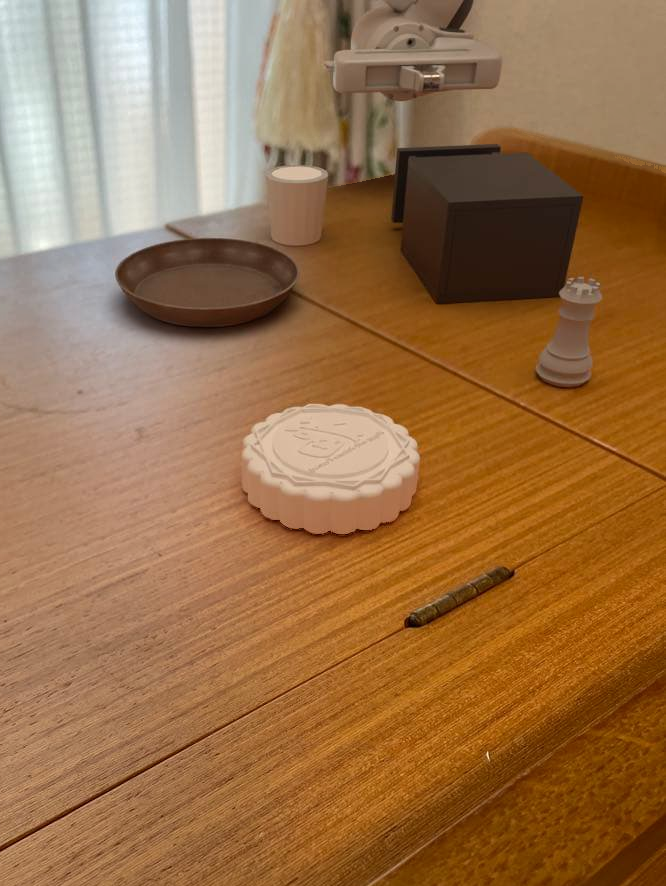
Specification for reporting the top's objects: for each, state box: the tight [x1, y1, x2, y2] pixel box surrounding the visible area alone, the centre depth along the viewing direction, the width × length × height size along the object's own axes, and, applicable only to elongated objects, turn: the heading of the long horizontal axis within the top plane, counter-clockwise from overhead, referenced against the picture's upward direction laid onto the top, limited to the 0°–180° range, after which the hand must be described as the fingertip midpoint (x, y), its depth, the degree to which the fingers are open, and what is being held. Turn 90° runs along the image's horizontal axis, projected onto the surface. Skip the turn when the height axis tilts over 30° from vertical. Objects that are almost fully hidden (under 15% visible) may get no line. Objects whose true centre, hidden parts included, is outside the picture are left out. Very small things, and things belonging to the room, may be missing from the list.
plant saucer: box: [114, 237, 301, 328], centre depth 84 cm, size 18×18×3 cm
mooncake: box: [240, 403, 421, 534], centre depth 59 cm, size 12×12×4 cm
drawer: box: [390, 143, 502, 224], centre depth 95 cm, size 18×11×8 cm, turn 7°
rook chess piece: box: [535, 276, 604, 388], centre depth 70 cm, size 4×4×8 cm
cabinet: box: [399, 152, 585, 305], centre depth 87 cm, size 15×13×10 cm
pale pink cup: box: [265, 164, 329, 247], centre depth 97 cm, size 7×7×7 cm
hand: (431, 83), depth 99 cm, fingers closed
